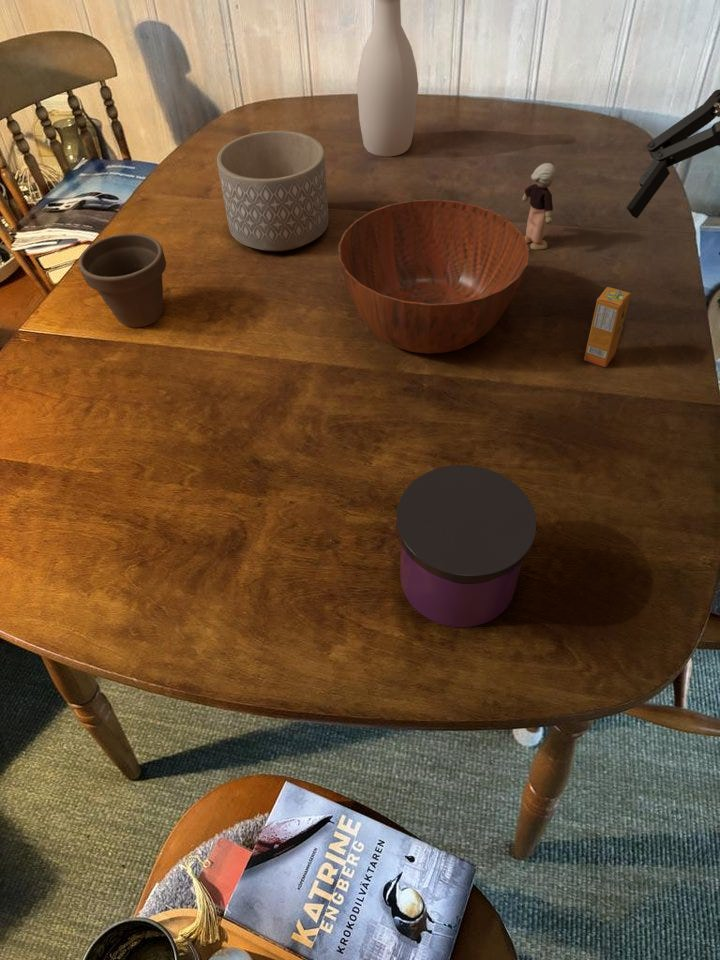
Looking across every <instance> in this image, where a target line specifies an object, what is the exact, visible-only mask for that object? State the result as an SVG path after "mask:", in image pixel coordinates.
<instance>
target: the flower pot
mask: <svg viewBox="0 0 720 960" xmlns="http://www.w3.org/2000/svg"><path fill="white" fill-rule="evenodd" d="M166 267H167V261H166V256H165V253H164V248H163V246H162V245H161V243H160V242H159V241H158V240H157V239H155V238H154V237H152V236H150V235H147V234H143V233H132V232H131V233H130V232H128V233H119V234H114V235H110V236H107V237H104V238H101V239H100V240H97V241H96V242H94V243H92V244H91V245H89V246H88V247H87V248H86V249H84V250H83V252H82V253H81V254H80V256H79V258H78V269H79V271H80V273H81V276H82V277H83V280H84V282H85V283H86V284H87V285H88V286H89V287H90V288H91V289H93V290H95V291H97V293H98V294H99V295H100V297H101V299H102V300H103V301H104V303H105V304H106V305H107V308H108V309H109V310H110V311H111V313H112V314H113V315H114V317H115V318H116V319H117V321H119V323H120V324H122V325H123V326H125V327H127V328H128V327H129V328H142V327H146V326H149V325H151V324H153V323H155V322H156V321H157V320H159V319H160V317H161V316H162V314H163V310H164V309H163V308H164V289H163V288H164V286H163V285H164V284H163V274H164V272H165V270H166Z"/></svg>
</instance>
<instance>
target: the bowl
mask: <svg viewBox="0 0 720 960" xmlns="http://www.w3.org/2000/svg"><path fill="white" fill-rule="evenodd" d="M524 236H525V235H524V234H523V233H522V232H521V231H520V230H519V229H518V227H517V226H516V225H515V224H514V223H513V222H511V221H510V220H508V219H507V218H504V217H503V216H502V215H500V214H499V213H497V212H494V211H492V210H489V209H488V208H485V207H482V206H479V205H475V204H471V203H467V202H463V201H457V200H448V199H435V198H434V199H433V198H432V199H413V200H412V199H411V200H406V201H402V202H396V203H390V204H387V205H385V206H382V207H379V208H376V209H374V210H371V211H369V212H367V213H365V214H364V215H363V216H361V217H359V218H358V219H355V220H354V221H353V222H352V223H351V224H350V225H349V227H347V228H346V230H345V231H343V233H342V236H341V238H340V240H339V243H338V245H337V247H338V250H337V251H338V262H339V266H340V269H341V273H342V276H343V279H344V282H345V285H346V288H347V291H348V293H349V295H350V298H351V300H352V302H353V303H354V306H355V308H356V309H357V311H358V313H359V315H360V317H361V319H362V320H363V322H364V323H365V325H366V326H367V327H368V328H369V329H370V330H371V331H372V332H373V333H374V334H375V335H376V336H377V337H378V338H379V339H381V340H382V341H384V342H385V343H388V344H389V345H391V346H393V347H395V348H398V349H400V350H405V351H407V352H410V353H417V354H426V355H431V354H432V355H433V354H446V353H449V352H454V351H458V350H461V349H464V348H465V347H468V346H470V345H472V344H474V343H476V342H478V341H479V340H480V339H481V338H482V337H483V336H486V334H487V333H488V332H490V331H491V330H492V329H493V328H494V327H495V325H496V324H497V323H498V321H499V320H500V319H501V317H502V316H503V314H504V312H505V311H506V310H507V307H508V306H509V304H510V303H511V301H512V300H513V298H514V296H515V294H516V292H517V290H518V288H519V285H520V283H521V282H522V279H523V277H524V274H525V272H526V270H527V267H528V263H529V257H530V256H529V255H530V248H529V246H528V243H527V242H526V240H525V237H524Z"/></svg>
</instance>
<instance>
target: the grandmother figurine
mask: <svg viewBox="0 0 720 960" xmlns="http://www.w3.org/2000/svg"><path fill="white" fill-rule="evenodd" d="M555 173H556V168H555V166H554V165H553V164H552V163H550V162H546V163H545V162H544V163H542V164H540V165H539V166H537V167H536V168H535V170H533V173H532V174H531V175H530V179H531V180H532V181H535V183H533V184H531V185H529V186H528V187H526V188H525V189H524V193H523V196H522V201H523V202H525V203H526V202H528V201H529V205H530V209H529V212H528V218H527V223H526V229H525V235H523V236H524V237H525V240H526V242H527V244H530V245H529V247H530V249H531V250H535V251H537V250H546V249H547V248H548V242H547V241H546V240H544V237H545V235H546V224H551V223H552V222H553V210H554V205H553V193H551V191H550V190H549V187H550V186H551V185H552V184H553V182H554V176H555Z"/></svg>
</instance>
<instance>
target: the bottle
mask: <svg viewBox="0 0 720 960" xmlns="http://www.w3.org/2000/svg"><path fill="white" fill-rule="evenodd" d="M401 9H402V8H401V0H374V20H373V21H374V22H373V27H372V28H371V31H370V33H369V35H368V38H367V40H366V42H365V44H364V46H363V49H362V52H361V57H360V61H359V63H358V71H357V80H356V91H357V102H358V103H357V104H358V105H357V107H358V120H359V125H360V131H361V138H362V144H363V148H365V150H366V151H367V152H368V153H370V154H371V155H374V156H377V157H384V158H385V157H387V158H388V157H396V156H400V155H402V154H403V155H404V154H405V153H406V152H407V151H408V150H409V149H410V147H411V146H412V143H413V136H414V130H415V126H416V125H415V124H416V119H417V107H418V97H419V95H418V94H419V79H418V78H419V77H418V69H417V64H416V59H415V56H414V52H413V47H412V45H411V43H410V41H409V39H408V37H407V34H406V32H405V30H404V28H403V26H402V11H401Z"/></svg>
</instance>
